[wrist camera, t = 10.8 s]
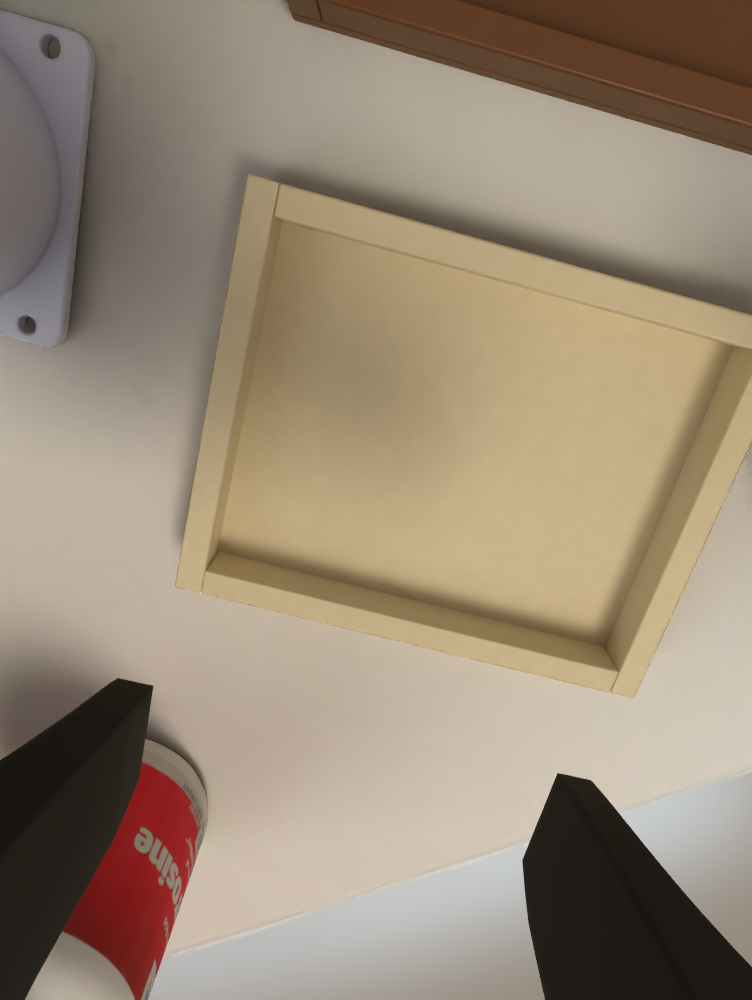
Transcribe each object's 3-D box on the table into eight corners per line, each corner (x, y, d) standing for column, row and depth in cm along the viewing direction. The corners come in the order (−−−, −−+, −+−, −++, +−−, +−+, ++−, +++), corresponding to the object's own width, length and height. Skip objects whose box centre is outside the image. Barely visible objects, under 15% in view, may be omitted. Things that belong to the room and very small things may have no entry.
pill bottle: (215, 862, 26) (93, 1264, 15) (60, 854, 26) (-168, 1248, 15) (208, 730, 24) (62, 1088, 13) (40, 722, 24) (-237, 1071, 13)
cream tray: (193, 560, 22) (174, 587, 20) (263, 184, 18) (247, 173, 16) (613, 663, 22) (634, 699, 21) (762, 323, 19) (804, 329, 17)
